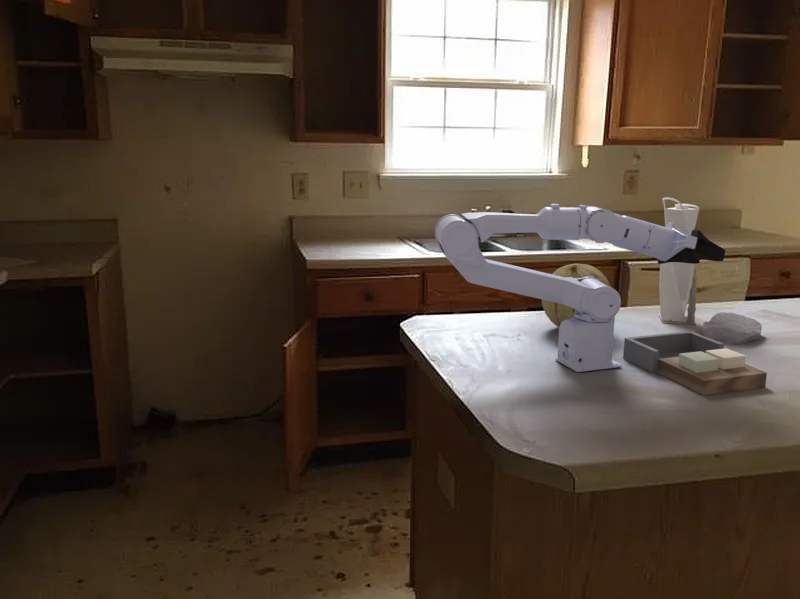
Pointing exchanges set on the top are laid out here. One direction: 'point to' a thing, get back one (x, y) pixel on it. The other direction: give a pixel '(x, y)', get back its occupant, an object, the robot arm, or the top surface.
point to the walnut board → (713, 377)
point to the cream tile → (727, 358)
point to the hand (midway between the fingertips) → (711, 257)
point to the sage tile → (698, 361)
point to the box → (665, 347)
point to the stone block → (731, 328)
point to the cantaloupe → (561, 311)
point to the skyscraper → (678, 272)
